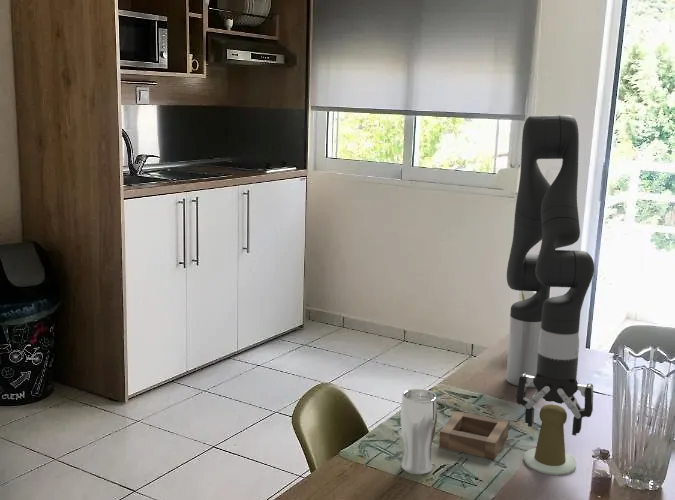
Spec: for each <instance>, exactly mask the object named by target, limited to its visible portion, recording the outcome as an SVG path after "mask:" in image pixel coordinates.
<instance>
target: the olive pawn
mask: <svg viewBox="0 0 675 500" xmlns="http://www.w3.org/2000/svg"><path fill="white" fill-rule="evenodd" d="M567 418H568V414H567V411H566V409H565V408H564V407H562V406H560V405H558V404H551V403H550V404H545V405H543V406H542V407H541V408H540V411H539V419H540V421H541V424H540V430H539V434H538V439H537V441H536V447H535V448H536V451H535V456H534V458H535V459H536V460H537V461H538V462H540V463H542V464H545V465H549V466H560V465H563V464H564V463H565V461H566V458H565V452H566V447H565V428H564V425H565V424H566V422H567Z"/></svg>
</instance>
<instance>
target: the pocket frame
mask: <svg viewBox="0 0 675 500" xmlns="http://www.w3.org/2000/svg"><path fill="white" fill-rule="evenodd" d="M509 424H510V421H508V420H502V419H498V418H493V417H488V416H482V415H478V414H473V413H467V412H462V411H458V410H456V411H455V412H454V413H453V415H452V416H451V417H450V418H449V419H448V420H447V422H446V423H445V425H443V427H442V428H441V430H439V439H438V440H439V444H438V446H439V448H440V449H441V448H442V449H446V450H451V451H453V452H454V451H455V452H458V453H464V454H469V455H473V456H477V457H482V458H486V459H489V460H490V459H491V460H495V459H496V457H497V455H498V454H499V453H500V451H501V449H502V447H503V446H504V444H505V443H506V441H507V439H508V438H509V429H510V428H509Z"/></svg>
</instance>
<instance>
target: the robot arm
mask: <svg viewBox="0 0 675 500" xmlns="http://www.w3.org/2000/svg"><path fill="white" fill-rule="evenodd" d="M523 124H524V125H523V127H522V128H523V129H522V138H521V139H522V140H521V156H520V157H521V158H520V174H519V175H520V176H519V182H518V183H519V184H518V190H517V196H516V202H515V210H514V221H513V222H514V223H513V236H512V243H511V248H510V251H509V259H508V263H507V267H506V282H507V285H508V287H509V289H511V290H513V291H519V292H520V291H534V292H536V293H535V294H534V295H533V296H532V297H530V298H528V299H526V300H523V301H519V300H518V301H517V302H514V303H513V304H512V305H511V307H510V313H509V330H508V331H509V332H508V334H509V335H508V346H507V360H506V361H507V363H506V364H507V365H506V379H505V380H506V382H508V384H511V385H514V386H517V393H516V399H515V400H516V404H517V405H519V406H520V405H521V406H523V407H524V408H525V414H524V415H525V416H524V422H525V424H527V427H528V428H529V427H530V428H532V427H533V425H534V419H535V405H536V404H537V403H538V402H539V401H540V400H541V399H543V400H545V402H550V403H551V402H554V403H556V404H561V405H562V404H565V406H566V407H567V408H568V409H569V410H570V412H571V413H572V414H573V418H572V430H571V431H572V432H571V436H575V437H576V436H577V434H580V432H581V429H582V423H583V422H582V420H583V418H590V417H591V416H592V413H593V411H594V410H593V409H594V407H593V406H594V385H593V383H587V384H579V382H578V380H577V375H578V363H579V352H580V350H579V349H580V321H581V311H582V307H583V303H584V300H585V298H586V294H587V292H588V291H589V290H588V289H589V287H590V285H591V283H592V280H593V278H594V277H593V276H594V272H595V263H594V260H593V258H592V256H591V254H590V253H589V252H587V251H584V250H570V249H568V250H565V249H564V250H563V249H560V248H563V247H568V246H573V245H574V244H575V243H576V242H578V241H579V239H580V237H581V229H580V218H579V209H578V208H579V207H578V182H579V181H578V178H579V177H578V176H579V151H580V150H579V146H580V143H579V142H580V139H579V136H580V135H579V127H578V122H577V119H576V118H575V117H574V116H573V115H570V114H534V115H529V116H528V117H527V118H526V119H525V121H524V123H523ZM538 160H562V163H561V167H560V170H559V172H558V174H557V176H556V177H555V179H554V180H553V182H552V183H551V184H550V182H549V181H548V180H547V178H546V177H545V176H544V175H543V173H542V171H541V169H540V167H539V165H538V162H537V161H538ZM539 242H541V245H540V250H539V252H538V254H529V252H530V250H531V249H533V248H534V247H535V246H536V245H538V243H539ZM551 288H569V289H568V291H567V292H566V293H564V294H562V295H557V296H554V297H553V296H551V298H549V295H550V289H551ZM527 388H535V389H536V390H537V391H536V392H535V393H534V394H533V395H531V397H529V398H528V397H526V392H527ZM577 391H579V392H580V395H581V397H583V398H584V408H582V407H581V406H580V404H579V402H578V400H577V397H575V394H576V393H577Z"/></svg>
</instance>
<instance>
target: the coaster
mask: <svg viewBox="0 0 675 500" xmlns="http://www.w3.org/2000/svg"><path fill="white" fill-rule="evenodd" d="M535 451H536V447H534V448H530V449H528V450H526V451H525V453H524V454H523V455H524V456H523V462H524V464H525V465H526V466H527V467H528V468H529V469H531V470H532V471H533V470H534V471H535V472H538V473H541V474H545V475H550V476H564V475H568V474H571V473H573V472H574V471H575V470H576V468H577V461H576V458H575V457H573V455H572V454H570V453H568V452H566V451H565V458H566V461H565V463H564V464H563V465H560V466H549V465H545V464H542V463H540V462H538V461H537V460H536V459H535V458H534V456H535Z"/></svg>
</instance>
